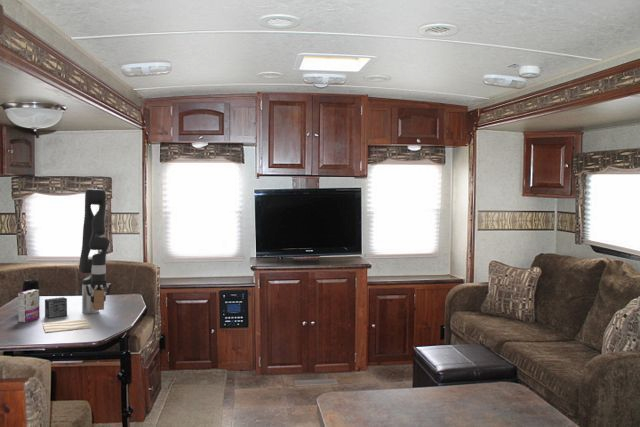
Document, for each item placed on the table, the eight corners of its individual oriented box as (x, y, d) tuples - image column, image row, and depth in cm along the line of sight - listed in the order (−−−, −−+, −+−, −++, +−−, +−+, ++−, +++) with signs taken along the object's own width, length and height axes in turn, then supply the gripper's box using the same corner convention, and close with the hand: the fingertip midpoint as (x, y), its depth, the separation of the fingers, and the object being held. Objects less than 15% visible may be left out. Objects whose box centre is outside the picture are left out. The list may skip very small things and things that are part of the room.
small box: (63, 314, 316) (63, 296, 316) (67, 316, 312) (67, 298, 311) (44, 316, 309) (44, 298, 309) (48, 318, 304) (48, 300, 304)
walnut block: (92, 307, 304) (92, 288, 303) (101, 306, 306) (102, 287, 306) (94, 310, 297) (94, 290, 296) (103, 309, 300) (104, 290, 299)
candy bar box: (32, 317, 307) (32, 289, 306) (39, 318, 306) (39, 289, 305) (17, 322, 296) (17, 292, 295) (25, 322, 295) (25, 293, 294)
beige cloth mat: (42, 324, 292) (42, 323, 292) (86, 320, 303) (86, 319, 303) (45, 332, 274) (45, 331, 274) (91, 328, 286) (91, 327, 286)
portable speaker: (35, 313, 317) (35, 280, 317) (19, 313, 317) (19, 280, 316) (42, 309, 326) (42, 278, 325) (26, 309, 325) (26, 278, 324)
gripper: (111, 270, 307) (110, 300, 308) (84, 272, 300) (83, 302, 301) (113, 273, 301) (112, 302, 302) (85, 274, 294) (85, 304, 295)
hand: (98, 302), depth 302 cm, fingers closed on walnut block, 5 cm apart
